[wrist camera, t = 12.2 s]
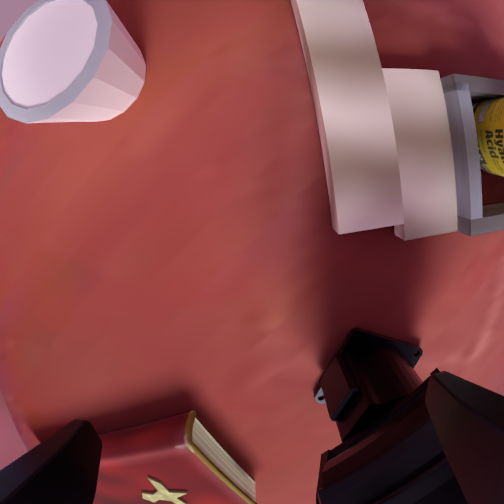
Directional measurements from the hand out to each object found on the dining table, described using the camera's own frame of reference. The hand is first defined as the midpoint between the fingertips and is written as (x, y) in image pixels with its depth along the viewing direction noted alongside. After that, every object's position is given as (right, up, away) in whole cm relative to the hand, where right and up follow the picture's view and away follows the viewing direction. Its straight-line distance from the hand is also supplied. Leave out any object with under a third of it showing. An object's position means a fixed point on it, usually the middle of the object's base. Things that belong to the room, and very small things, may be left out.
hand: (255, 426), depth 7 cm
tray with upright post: (+12, +15, +9) cm, 21 cm away
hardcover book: (-11, -17, +19) cm, 28 cm away
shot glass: (-9, +15, +10) cm, 20 cm away
